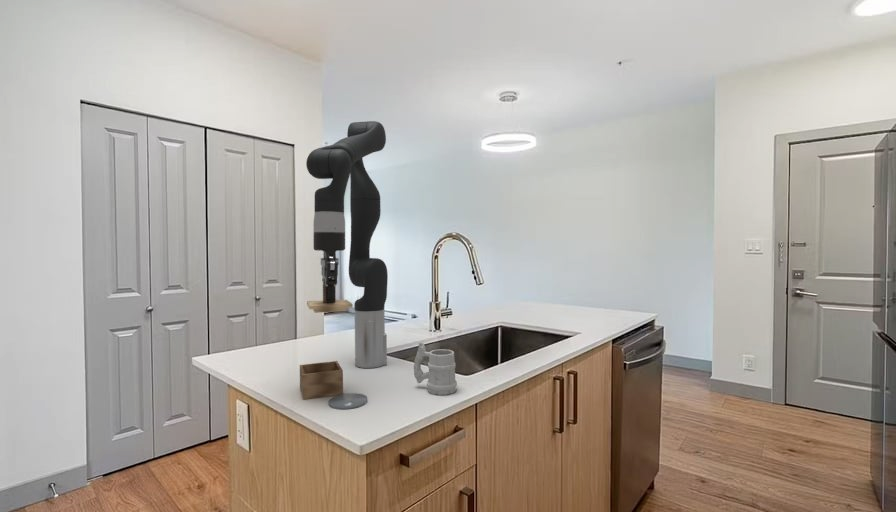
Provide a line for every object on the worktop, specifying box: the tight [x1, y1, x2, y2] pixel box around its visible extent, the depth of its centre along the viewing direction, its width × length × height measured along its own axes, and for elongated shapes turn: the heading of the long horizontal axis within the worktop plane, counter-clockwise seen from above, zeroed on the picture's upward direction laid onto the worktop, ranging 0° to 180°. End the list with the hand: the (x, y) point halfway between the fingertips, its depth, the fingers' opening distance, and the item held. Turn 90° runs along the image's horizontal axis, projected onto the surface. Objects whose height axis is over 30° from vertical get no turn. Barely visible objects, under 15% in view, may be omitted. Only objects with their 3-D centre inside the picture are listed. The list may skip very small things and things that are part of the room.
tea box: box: [299, 360, 344, 401], centre depth 110 cm, size 10×10×6 cm
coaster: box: [328, 392, 368, 410], centre depth 102 cm, size 9×9×1 cm
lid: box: [306, 283, 354, 313], centre depth 106 cm, size 10×10×6 cm
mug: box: [413, 341, 458, 396], centre depth 110 cm, size 8×12×12 cm, turn 68°
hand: (329, 301), depth 106 cm, fingers closed on lid, 3 cm apart
